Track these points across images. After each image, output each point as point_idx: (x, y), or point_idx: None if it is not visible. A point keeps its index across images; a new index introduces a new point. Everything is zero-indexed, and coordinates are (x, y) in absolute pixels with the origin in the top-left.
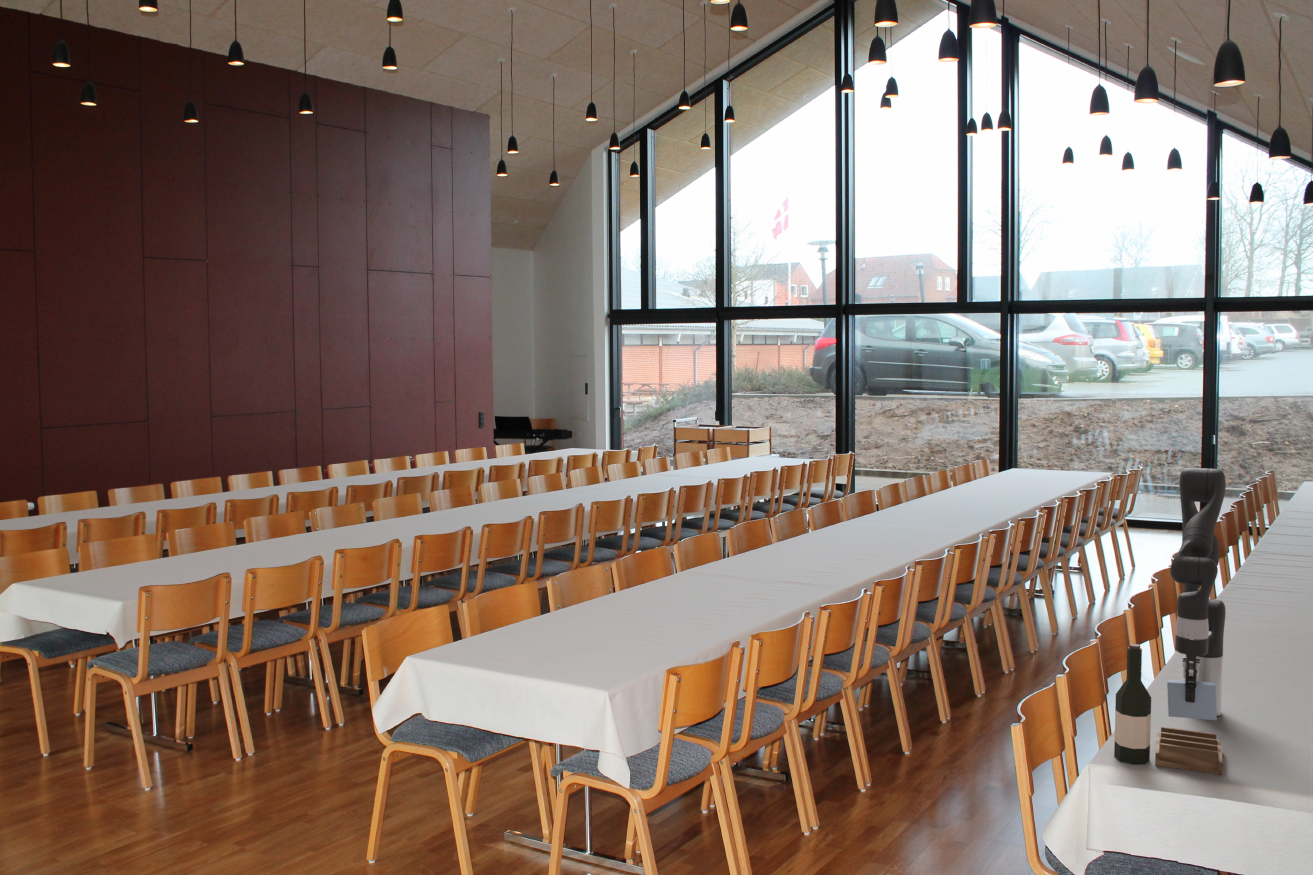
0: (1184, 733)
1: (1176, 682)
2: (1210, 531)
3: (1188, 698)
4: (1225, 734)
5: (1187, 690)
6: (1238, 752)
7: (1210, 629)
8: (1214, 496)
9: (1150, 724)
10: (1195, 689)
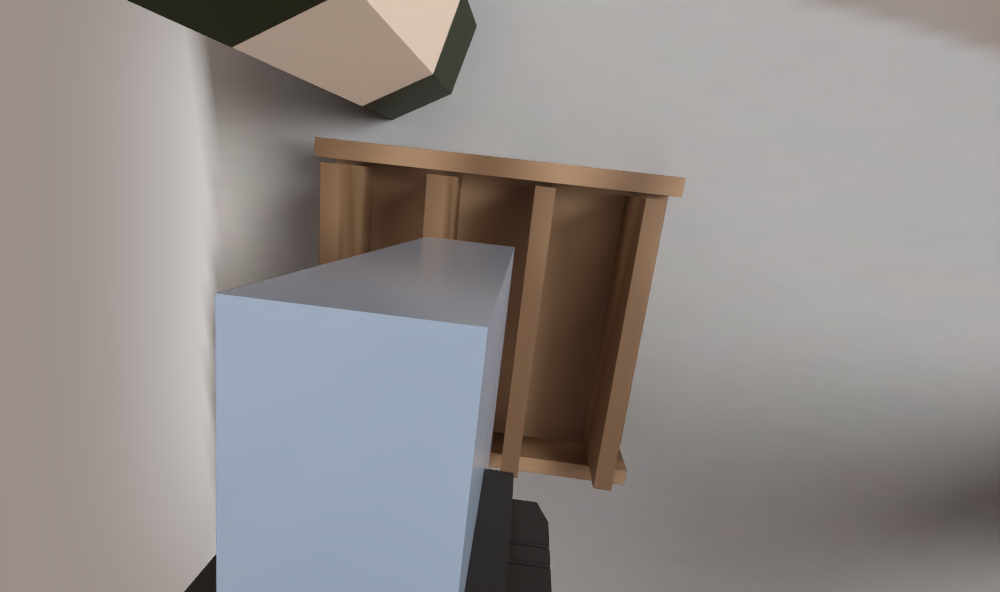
0: (616, 327)
1: (252, 503)
2: None
3: None
4: (866, 509)
5: (195, 581)
6: (631, 516)
7: None
8: None
9: (294, 75)
10: None
